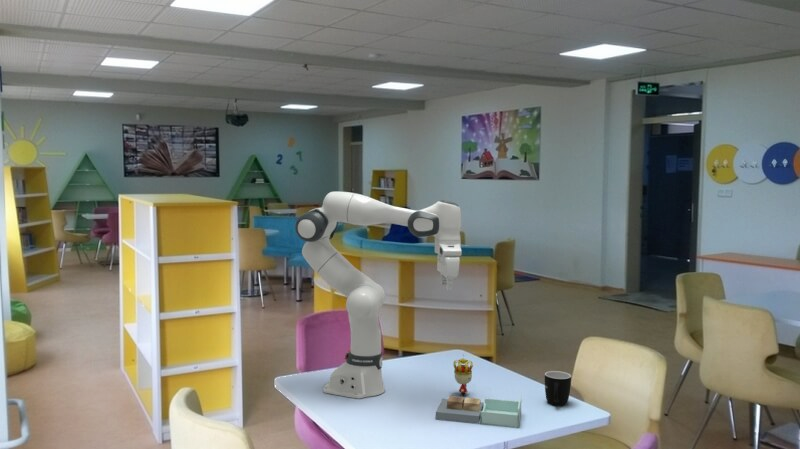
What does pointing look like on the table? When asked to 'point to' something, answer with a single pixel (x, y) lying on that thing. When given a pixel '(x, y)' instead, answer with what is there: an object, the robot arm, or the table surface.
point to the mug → (557, 387)
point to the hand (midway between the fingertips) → (446, 287)
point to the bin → (501, 413)
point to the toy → (463, 374)
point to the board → (458, 414)
